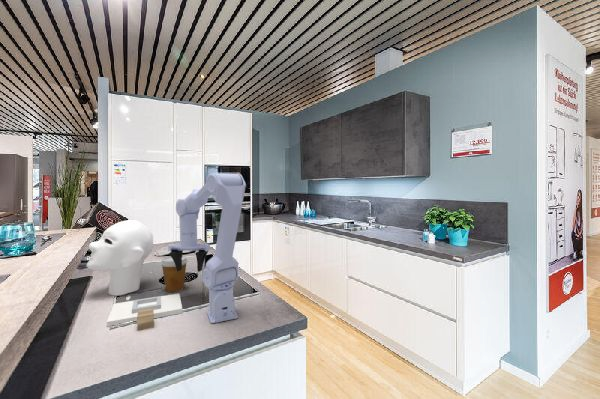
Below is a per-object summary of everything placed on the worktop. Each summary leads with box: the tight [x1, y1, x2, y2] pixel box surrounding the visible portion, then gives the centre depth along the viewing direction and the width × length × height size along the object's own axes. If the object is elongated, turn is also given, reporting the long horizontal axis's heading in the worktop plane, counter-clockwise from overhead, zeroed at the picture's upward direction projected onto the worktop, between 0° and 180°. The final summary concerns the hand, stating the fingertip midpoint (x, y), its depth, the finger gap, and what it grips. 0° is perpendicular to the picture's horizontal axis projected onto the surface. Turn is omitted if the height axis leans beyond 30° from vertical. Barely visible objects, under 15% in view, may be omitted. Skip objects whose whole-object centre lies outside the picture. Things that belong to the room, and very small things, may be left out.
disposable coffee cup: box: [160, 255, 188, 293], centre depth 112 cm, size 10×10×12 cm
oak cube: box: [136, 309, 155, 331], centre depth 84 cm, size 4×4×4 cm
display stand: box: [106, 293, 183, 328], centre depth 93 cm, size 14×20×3 cm
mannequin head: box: [86, 219, 154, 297], centre depth 110 cm, size 18×23×28 cm
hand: (189, 270), depth 104 cm, fingers open, 7 cm apart
